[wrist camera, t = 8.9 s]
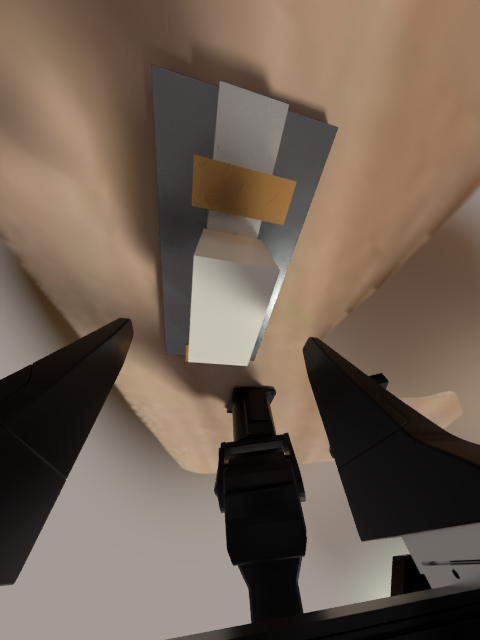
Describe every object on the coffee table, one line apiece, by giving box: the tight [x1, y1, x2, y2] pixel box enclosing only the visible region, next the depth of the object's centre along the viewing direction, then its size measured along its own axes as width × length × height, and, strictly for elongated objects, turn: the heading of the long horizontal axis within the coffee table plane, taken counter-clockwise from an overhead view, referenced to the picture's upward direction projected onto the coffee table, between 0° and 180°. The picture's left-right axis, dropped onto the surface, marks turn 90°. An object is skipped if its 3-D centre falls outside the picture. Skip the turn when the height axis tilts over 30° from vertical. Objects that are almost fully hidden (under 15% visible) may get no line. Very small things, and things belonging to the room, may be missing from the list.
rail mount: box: [151, 64, 338, 361], centre depth 15 cm, size 20×10×4 cm, turn 169°
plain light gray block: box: [188, 229, 280, 366], centre depth 13 cm, size 7×4×6 cm, turn 169°
